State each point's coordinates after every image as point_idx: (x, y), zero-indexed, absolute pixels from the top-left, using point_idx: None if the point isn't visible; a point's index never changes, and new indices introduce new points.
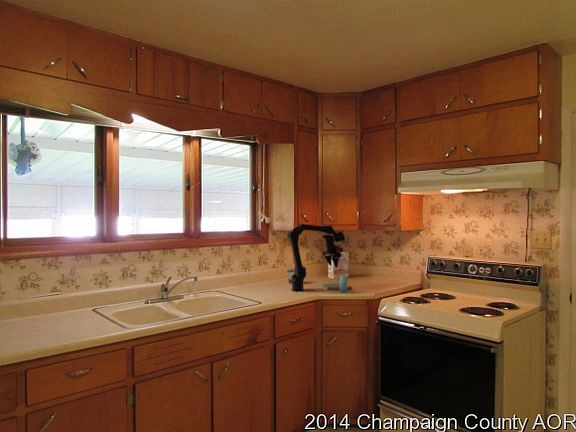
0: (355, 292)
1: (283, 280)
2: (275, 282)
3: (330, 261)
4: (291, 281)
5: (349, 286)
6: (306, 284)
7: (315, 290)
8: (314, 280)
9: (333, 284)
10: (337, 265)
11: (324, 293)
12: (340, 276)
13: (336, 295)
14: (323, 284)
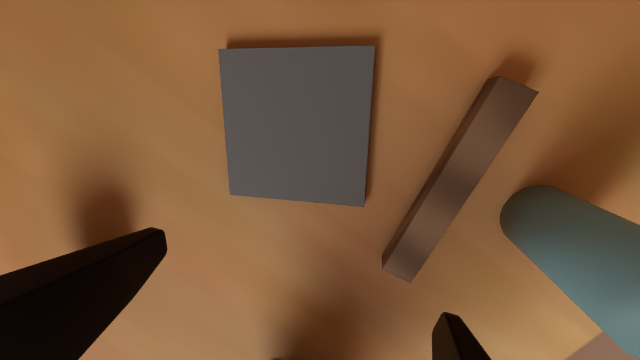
0: (629, 131)
1: None
2: None
3: (72, 301)
4: None
5: (492, 91)
6: None
7: (350, 320)
8: (42, 112)
9: (269, 119)
10: (486, 355)
11: None
12: (624, 329)
13: (588, 328)
14: (236, 188)
